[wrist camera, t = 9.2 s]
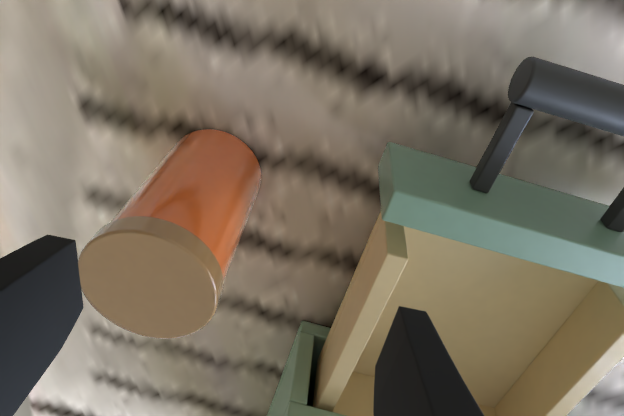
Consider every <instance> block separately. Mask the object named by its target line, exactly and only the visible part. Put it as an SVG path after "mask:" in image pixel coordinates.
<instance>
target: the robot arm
mask: <svg viewBox="0 0 624 416" xmlns="http://www.w3.org/2000/svg"><path fill="white" fill-rule="evenodd" d="M82 309H83V300H82V292H81V284H80V275H79V267H78V259H77V251H76V242H75V240H71V239H66V238H61V237H56V236H51V235H46V236H44V237H42V238H40V239H37V240H35V241H33V242H31V243H29V244H27V245H25V246H24V247H22V248H20V249H18V250H16V251H14V252H12V253H10V254H8V255H6V256H4V257H2V258H0V416H13V415H14V413H15V412H16V411H17V409H18V408H19V406H20V405H21V404H22V402H23V401H24V400H25V398H26V397H27V396H28V394H29V393H30V392H31V390H32V389H33V387H34V386H35V385H36V383H37V382H38V381H39V379H40V378H41V376H42V375H43V374H44V372H45V371H46V369H47V368H48V367H49V365H50V364H51V362H52V361H53V360H54V358H55V357H56V355H57V354H58V352H59V351H60V350H61V348H62V346H63V344H64V343H65V341H66V339H67V337H68V336H69V334H70V332H71V330H72V328H73V326H74V325H75V323H76V321H77V319H78V317H79V315H80V313H81V311H82ZM373 415H374V416H484V414H483V413H482V411H481V409H480V408H479V406H478V404H477V403H476V401H475V399H474V397H473V396H472V394H471V392H470V391H469V389H468V387H467V385H466V384H465V382H464V380H463V379H462V377H461V375H460V373H459V371H458V370H457V368H456V366H455V364H454V362H453V360H452V359H451V357H450V355H449V353H448V351H447V349H446V348H445V346H444V344H443V342H442V340H441V338H440V336H439V334H438V332H437V330H436V328H435V327H434V325H433V323H432V321H431V319H430V317H429V315H428V314H427V312H426V311H421V310H417V309H412V308H407V307H402V306H399V307H398V310H397V312H396V315H395V317H394V320H393V322H392V325H391V327H390V330H389V332H388V335H387V338H386V340H385V343H384V345H383V348H382V350H381V353H380V355H379V358H378V360H377V363H376V365H375V380H374V403H373Z"/></svg>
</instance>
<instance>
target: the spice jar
mask: <svg viewBox="0 0 624 416" xmlns="http://www.w3.org/2000/svg"><path fill="white" fill-rule="evenodd" d="M260 185H261V169H260V166H259V163H258V160H257V158H256V157H255V155H254V153H253V152H252V151H251V149H250V148H249V147H248V146H247V145H246V144H245V143H244V142H243V141H241V140H240V139H238V138H237V137H235V136H233V135H231V134H229V133H226V132H224V131H219V130H213V129H203V130H197V131H194V132H191V133H189V134H187V135H186V136H184V137H183V138H181V139H180V140H179V141H178V142H177V144H176V145H175V146H174V147H173V148H172V150H171V151H170V152H169V153H168V154H167V156H166V157H165V158H164V159H163V160H162V161H161V163H160V164H159V165H158V166H157V167H156V169H155V170H154V171H153V172H152V173H151V175H150V176H149V177H148V178H147V179H146V180H145V182H144V183H143V184H142V185H141V186H140V188H139V189H138V190H137V191H136V192H135V193H134V195H133V196H132V197H131V198H130V199H129V201H128V202H127V203H126V204H125V205H124V207H123V208H122V209H121V210H120V211H119V212H118V214H117V215H116V216H115V217H114V218H113V220H112V221H111V222H110V223H108V224H107V225H105V226H104V227H102V228H101V229H100V230H99V231H98V232H97V233H96V234H95V235H94V236H93V238H92V239H91V240H90V241H89V242H88V243H87V245H86V246H85V247H84V249H83V250H82V252H81V254H80V256H79V260H78V267H79V275H80V284H81V289H82V291H83V293H84V295H85V297H86V298H87V300H88V301H89V302H90V304H91V305H92V306H93V307H94V308H95V309H96V310H97V311H98V312H99V313H100V314H101V315H102V316H104V317H105V318H106V319H108V320H109V321H111V322H112V323H114V324H116V325H117V326H119V327H121V328H123V329H125V330H127V331H130V332H132V333H135V334H139V335H142V336H146V337H151V338H159V339H171V338H179V337H184V336H187V335H191V334H193V333H195V332H197V331H199V330H200V329H202V328H203V327H204V326H205V325H206V324H208V323H209V321H210V320H211V319H212V318H213V316H214V314H215V312H216V309H217V307H218V304H219V301H220V299H221V296H222V293H223V286H224V284H223V282H224V279H225V277H226V274H227V272H228V269H229V266H230V264H231V261H232V259H233V256H234V253H235V251H236V248H237V246H238V243H239V240H240V238H241V235H242V233H243V230H244V227H245V225H246V222H247V220H248V217H249V215H250V212H251V209H252V207H253V204H254V202H255V199H256V196H257V194H258V191H259V188H260Z"/></svg>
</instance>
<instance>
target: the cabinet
mask: <svg viewBox="0 0 624 416" xmlns="http://www.w3.org/2000/svg"><path fill="white" fill-rule="evenodd" d="M330 329H331V328H329V327H325V326H321V325H317V324H313V323H310V322H306V321H302V322H301V324H300V327H299V329H298V332H297V335H296V337H295V340H294V343H293V346H292V348H291V351H290V354H289V357H288V359H287V362H286V365H285V367H284V370H283V373H282V376H281V378H280V381H279V384H278V387H277V389H276V392H275V395H274V397H273V400H272V403H271V406H270V408H269V411H268V414H267V416H346V415H342V414H338V413H334V412H330V411H327V410H323V409H319V408H315V407H313V398H314V388H315V378H316V372H317V371H316V369H317V360H318V358H319V355H320V353H321V350H322V348H323V346H324V343H325V341H326V339H327V336H328V334H329V332H330Z"/></svg>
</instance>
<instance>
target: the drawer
mask: <svg viewBox="0 0 624 416" xmlns="http://www.w3.org/2000/svg"><path fill="white" fill-rule="evenodd" d="M508 98H509V100H510V101H511V103H510V105H509V107H508V109H507V111H506V113H505V115H504V117H503V119H502V120H501V122H500V124H499V126H498V128H497V130H496V132H495V134H494V136H493V137H492V139H491V141H490V143H489V145H488V147H487V149H486V151H485V153H484V155H483V156H482V158H481V160H480V162H479V164H478V166H477V167H474V166H471V165H467V164H464V163H460V162H457V161H453V160H450V159H447V158H443V157H440V156H436V155H433V154H429V153H426V152H423V151H419V150H416V149H412V148H409V147H406V146H402V145H399V144H395V143H392V142H388V143H387V145H386V148H385V150H384V153H383V155H382V158H381V160H380V163H379V166H378V173H379V188H380V202H381V211H380V213H379V216H378V218H377V220H376V223H375V225H374V227H373V230H372V232H371V234H370V237H369V239H368V242H367V244H366V246H365V249H364V251H363V253H362V256H361V258H360V261H359V263H358V265H357V268H356V270H355V272H354V275H353V277H352V279H351V282H350V284H349V287H348V289H347V291H346V294H345V296H344V298H343V301H342V303H341V305H340V308H339V310H338V313H337V315H336V317H335V320H334V322H333V324H332V327H331V329H330V332H329V334H328V336H327V339H326V341H325V343H324V346H323V348H322V350H321V353H320V355H319V358H318V360H317V369H316V371H317V372H316V378H315V388H314V398H313V407H315V408H319V409H323V410H327V411H330V412H334V413H338V414H342V415H346V416H374V415H373V403H374V380H375V365H376V363H377V360H378V358H379V355H380V353H381V350H382V348H383V345H384V343H385V340H386V338H387V335H388V332H389V330H390V327H391V325H392V322H393V320H394V317H395V315H396V312H397V310H398V307H399V306H402V307H407V308H412V309H417V310H421V311H426V312H427V314H428V315H429V317H430V319H431V321H432V323H433V325H434V327H435V328H436V330H437V332H438V334H439V336H440V338H441V340H442V342H443V344H444V346H445V348H446V349H447V351H448V353H449V355H450V357H451V359H452V360H453V362H454V364H455V366H456V368H457V370H458V371H459V373H460V375H461V377H462V379H463V380H464V382H465V384H466V385H467V387H468V389H469V391H470V392H471V394H472V396H473V397H474V399H475V401H476V403H477V404H478V406H479V408H480V409H481V411H482V413H483V414H484V416H567V415H568V414H569V412H570V411H571V410H572V409H573V408H574V407H575V406H576V405H577V404H578V403H579V402H580V401H581V400H582V399H583V398H584V397H585V396H586V395H587V394H588V393H589V392H590V391H591V390H592V389H593V388H594V387H595V386H596V385H597V384H598V383H599V382H600V381H601V380H602V379H603V378H604V377H605V376H606V375H607V374H608V373H609V372H610V371H611V370H612V369H613V368H614V367H615V366H616V365H617V364H618V363H619V362H620V361H621V359H622V358H623V357H624V188H623V189H622V190H621V192H620V193H619V194H618V196H617V197H616V198H615V200H614V201H613V203H612V204H611V205H610V206H608V205H604V204H601V203H597V202H594V201H590V200H587V199H584V198H580V197H577V196H573V195H570V194H566V193H563V192H560V191H556V190H553V189H549V188H546V187H542V186H539V185H536V184H532V183H529V182H525V181H522V180H519V179H515V178H512V177H508V176H505V175H501V174H499V173H500V171H501V169H502V167H503V166H504V164H505V162H506V160H507V159H508V157H509V155H510V153H511V151H512V150H513V148H514V146H515V144H516V143H517V141H518V139H519V137H520V135H521V134H522V132H523V130H524V128H525V127H526V125H527V123H528V121H529V120H530V118H531V116H532V114H533V110H532V109H535V110H538V111H542V112H545V113H548V114H552V115H555V116H558V117H561V118H565V119H568V120H571V121H575V122H578V123H581V124H584V125H588V126H591V127H594V128H598V129H601V130H604V131H608V132H611V133H614V134H617V135H621V136H624V85H622V84H619V83H616V82H613V81H609V80H606V79H603V78H600V77H596V76H593V75H590V74H587V73H584V72H580V71H577V70H574V69H571V68H567V67H564V66H561V65H558V64H555V63H551V62H548V61H545V60H542V59H539V58H535V57H528V58H526V59H524V60H523V61H522V62H521V63H520V65H519V66H518V68H517V69H516V71H515V73H514V74H513V77H512V79H511V82H510V85H509V89H508ZM531 108H532V109H531Z"/></svg>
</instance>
